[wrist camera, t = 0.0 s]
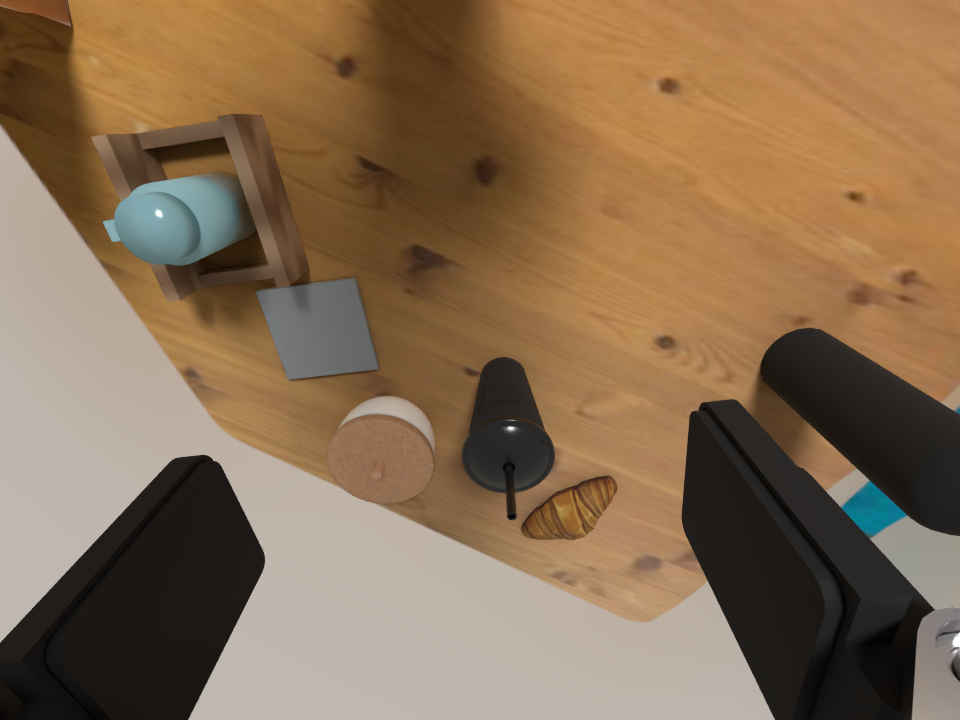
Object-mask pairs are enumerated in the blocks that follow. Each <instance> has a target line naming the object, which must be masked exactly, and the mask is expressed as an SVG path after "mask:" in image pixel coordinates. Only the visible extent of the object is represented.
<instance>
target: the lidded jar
mask: <svg viewBox="0 0 960 720" xmlns="http://www.w3.org/2000/svg"><path fill="white" fill-rule="evenodd" d="M326 456H327V464H328V468H329V471H330V473H331V475H332V476H333V478H334V479H335V481H336V482H337V483H338V484H339V485H340V487H342V488H343V489H344V490H345V491H347V492H348V493H350V494H351V495H353V496H355V497H357V498H359V499H362V500H365V501H368V502H373V503H380V504H392V503H399V502H402V501H406V500H408V499H411V498H413V497H415V496H416V495H418V494H419V493H420V492H422V491H423V490H424V489H425V488H426V486H427V485H428V484H429V482H430V480H431V478H432V475H433V472H434V464H435V458H434V457H435V438H434V432H433V429H432V426H431V424H430V422H429V420H428V418H427V416H426V415H425V414H424V412H423V411H422V410H421V409H420V408H419V407H417V406H416V405H415V404H413V403H412V402H410V401H408V400H406V399H403V398H400V397H395V396H380V397H374V398H371V399H368V400H366V401H364V402H363V403H361V404H359V405H358V406H356V407H355V408H354V409H353V410H352V411H351V412H350V413H349V414H348V415H347V416H346V417H345V418H344V420H343V421H342V423H341V424H340V426H339V428H338V429H337V431H336V432H335V434H334V435H333V437H332V439H331V440H330V443H329V445H328V448H327V454H326Z"/></svg>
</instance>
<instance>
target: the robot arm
mask: <svg viewBox="0 0 960 720" xmlns="http://www.w3.org/2000/svg"><path fill="white" fill-rule="evenodd" d="M682 524H683V528H684V531H685V534H686V537H687V539H688V541H689V543H690V545H691V547H692V549H693V551H694V553H695V555H696V557H697V559H698V561H699V563H700V566H701V568H702V570H703V572H704V574H705V576H706V578H707V580H708V582H709V584H710V586H711V588H712V590H713V592H714V595H715V596H716V599H717V601H718V603H719V605H720V607H721V609H722V611H723V613H724V615H725V617H726V619H727V621H728V624H729V626H730V628H731V630H732V632H733V634H734V636H735V638H736V640H737V642H738V644H739V646H740V648H741V650H742V652H743V655H744V657H745V659H746V661H747V663H748V665H749V667H750V669H751V671H752V673H753V675H754V677H755V679H756V681H757V683H758V685H759V688H760V690H761V692H762V694H763V696H764V698H765V700H766V702H767V704H768V706H769V708H770V711H771V713H772V715H773V717H774V718H775V720H960V608H953V607H952V608H946V609H940V610H935V609H933V607H932V606H931V605H930V604H929V603H928V602H927V601H926V600H925V599H924V598H923V596H922V595H921V594H920V593H919V592H918V591H917V590H916V589H915V588H914V587H913V586H912V585H911V583H910V582H909V581H908V580H907V579H906V578H905V577H904V576H903V575H902V574H901V573H900V571H899V570H898V569H897V568H896V567H895V566H894V565H893V564H892V563H891V562H890V561H889V559H888V558H887V557H886V556H885V555H884V554H883V553H882V552H881V551H880V550H879V549H878V548H877V547H876V545H875V544H874V543H873V542H872V541H871V540H870V539H869V538H868V537H867V536H866V535H865V533H864V532H863V531H862V530H861V529H860V528H859V527H858V526H857V525H856V524H855V523H854V521H853V520H852V519H851V518H850V517H849V516H848V515H847V514H846V513H845V512H844V511H843V510H842V508H841V507H840V506H839V505H838V504H837V503H836V502H835V501H834V500H833V499H832V498H831V497H830V496H829V494H828V493H827V492H826V491H825V490H824V489H823V488H822V487H821V486H820V485H819V483H818V482H817V481H816V480H815V479H814V478H813V477H812V476H811V475H810V474H809V473H808V472H807V471H805V470H804V469H803V468H800V467H798V466H796V464H795V463H794V462H793V461H792V460H791V459H790V458H789V457H788V456H787V455H786V453H785V452H784V451H783V450H782V449H781V448H780V447H779V446H778V445H777V443H776V442H775V441H774V440H773V439H772V438H771V437H770V436H769V435H768V434H767V432H766V431H765V430H764V429H763V428H762V427H761V426H760V425H759V424H758V422H757V421H756V420H755V419H754V418H753V417H752V416H751V415H750V414H749V413H748V411H747V410H746V409H745V408H744V407H743V406H742V405H741V404H740V403H739V402H738V401H737V400H734V399H731V400H721V401H712V402H703V403H702V404H701V405H700V407H699V411H693V412H691V414H690V419H689V432H688V444H687V456H686V469H685V481H684V493H683V506H682ZM264 564H265V556H264V552H263V550H262V548H261V546H260V544H259V542H258V540H257V538H256V536H255V533H254V531H253V529H252V527H251V525H250V523H249V521H248V519H247V517H246V515H245V513H244V511H243V509H242V507H241V505H240V503H239V501H238V499H237V497H236V495H235V493H234V491H233V489H232V487H231V485H230V483H229V481H228V479H227V477H226V475H225V473H224V471H223V469H222V467H221V465H220V464H219V463H218V462H215V461H213V459H212V458H210V457H209V456H207V455H198V456H188V457H180V458H175V459H174V460H172V461H171V462H169V464H168V465H167V466H166V467H165V468H164V469H163V470H162V471H161V472H160V473H159V474H158V475H157V477H155V478H154V480H153V481H152V482H151V483H150V484H149V485H148V486H147V487H146V488H145V489H144V490H143V491H142V492H141V493H140V494H139V496H138V497H137V498H136V499H135V500H134V501H133V502H132V503H131V504H130V505H129V506H128V507H127V508H126V509H125V510H124V512H123V513H122V514H121V515H120V516H119V517H118V518H117V519H116V520H115V521H114V522H113V523H112V524H111V525H110V526H109V527H108V529H107V530H106V531H105V532H104V533H103V534H102V535H101V536H100V537H99V538H98V539H97V540H96V541H95V542H94V543H93V544H92V546H91V547H90V548H89V549H88V550H87V551H86V552H85V553H84V554H83V555H82V556H81V557H80V558H79V559H78V560H77V562H76V563H75V564H74V565H73V566H72V567H71V568H70V569H69V570H68V571H67V572H66V573H65V574H64V575H63V576H62V578H61V579H60V580H59V581H58V582H57V583H56V584H55V585H54V586H53V587H52V588H51V589H50V590H49V592H48V593H47V594H46V595H45V596H44V597H43V598H42V599H41V600H40V601H39V602H38V603H37V604H36V605H35V606H34V607H33V608H32V610H31V611H30V612H29V613H28V614H27V615H26V616H25V617H24V618H23V619H22V620H21V621H20V622H19V623H18V624H17V626H16V627H15V628H14V629H13V630H12V631H11V632H10V633H9V634H8V635H7V636H6V637H5V638H4V639H3V640H2V641H1V643H0V720H188V719H189V717H190V715H191V713H192V711H193V709H194V707H195V705H196V703H197V701H198V699H199V697H200V695H201V693H202V691H203V689H204V686H205V685H206V683H207V681H208V679H209V677H210V675H211V673H212V671H213V669H214V667H215V665H216V663H217V661H218V659H219V657H220V655H221V653H222V651H223V649H224V647H225V645H226V643H227V641H228V639H229V637H230V635H231V633H232V631H233V629H234V627H235V625H236V623H237V621H238V619H239V617H240V615H241V613H242V611H243V609H244V607H245V605H246V603H247V601H248V599H249V597H250V595H251V593H252V591H253V589H254V588H255V585H256V584H257V582H258V580H259V578H260V576H261V573H262V571H263V569H264Z"/></svg>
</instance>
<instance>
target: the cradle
mask: <svg viewBox="0 0 960 720" xmlns="http://www.w3.org/2000/svg"><path fill="white" fill-rule="evenodd" d="M218 119H219V120H218V121H212V122H206V123H200V124H193V125H187V126H181V127H175V128H169V129H162V130H156V131H150V132H144V133H137V134H106V135H99V136H93V137H91V138H92V140H93V143H94V145H95V147H96V149H97V151H98V153H99V155H100V158H101V160H102V162H103V164H104V166H105V168H106V170H107V173H108V175H109V177H110V179H111V181H112V183H113V186H114V188H115V190H116V192H117V194H118V196H119V198H120V201H122V200H124V199H126V198H128V197H129V196H130V194H131V193H132V192H133V191H134V190H135V189H136V188H138V187H139V186H141V185H144V184H148V183H153V182H159V181H165V180H167V177H166V175H165V173H164V170H163V168H162V165H161V163H160V161H159V158H158V156H157V153H156V151H155V148H161V147H167V146H174V145H180V144H186V143H193V142H199V141H206V140H212V139H218V138H225V139H226V142H227V145H228V148H229V151H230V154H231V157H232V160H233V162H234V165H235V168H236V171H237V174H238V177H239V180H240V183H241V185H242V188H243V191H244V194H245V197H246V200H247V203H248V206H249V208H250V211H251V214H252V217H253V220H254V223H255V226H256V229H257V231H258V234H259V237H260V240H261V243H262V246H263V249H264V252H265V254H266V257H267V260H268V263H261V264H254V265H247V266H239V267H232V268H224V269H217V270H210V271H205V269H204V267H203V265H202V262H201V260H198V261H195V262H193V263H191V264H187V265H171V264H165V265H156V264H151V263H150V265H151V267H152V269H153V271H154V274H155V276H156V278H157V280H158V282H159V284H160V287H161V289H162V291H163V293H164V295H165V297H166V299H167V302H169V301H177V300H181V299H183V298H185V297H186V296H188V295H190V294H192V293H193V292H195V291H197V290H199V289H200V288H203V287H211V286H218V285H226V284H233V283H241V282H248V281H256V280H263V279H271V278H274V280H275V283H276V286H277V287H283V286H290V285H291V284H293V283H294V282H295V281H296V280H298V279H299V278H300V277H301V276H302V275H304V274H305V273H306V272H307V271H308V270H310V269H309V266H308V263H307V260H306V256H305V253H304V250H303V247H302V244H301V240H300V237H299V234H298V231H297V227H296V224H295V221H294V218H293V214H292V211H291V208H290V205H289V201H288V198H287V195H286V192H285V189H284V185H283V182H282V179H281V176H280V172H279V169H278V166H277V163H276V159H275V156H274V153H273V150H272V146H271V143H270V140H269V137H268V133H267V130H266V127H265V124H264V121H263V117H262V115H246V114H230V115H224V116H218Z"/></svg>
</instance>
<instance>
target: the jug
mask: <svg viewBox="0 0 960 720" xmlns="http://www.w3.org/2000/svg"><path fill="white" fill-rule="evenodd" d="M103 224H104V226H105V228H106V230H107V232H108V234H109V236H110V238H111V240H112V242H116V241H122V243H123V244H124V246H125V247H126V248H127V249H128V250H129V251H130V252H131V253H132V254H134V255H135V256H136V257H138V258H139V259H141V260H143V261H146V262H148V263H151V264H156V265H165V264H171V265H187V264H191V263H193V262H195V261H198V260H200V259H202V258H204V257H206V256H208V255H210V254H212V253H215V252H217V251H219V250H221V249H223V248H225V247H227V246H229V245H232V244H234V243H236V242H238V241H240V240H242V239H244V238H246V237H248V236H250V235H251V234H253V233H254V232H255V231H256V226H255V223H254V220H253V217H252V214H251V211H250V208H249V206H248V203H247V200H246V197H245V194H244V191H243V188H242V185H241V183H240V180H239V177H238V176H236V175H234V174H231V173H228V172H222V171H217V172H210V173H205V174H199V175H193V176H187V177H182V178H176V179H170V180H165V181H159V182H153V183H148V184H144V185H141V186H139V187H138V188H136V189H135V190H134V191H133V192H132V193H131V194H130V196H129V197H128V198H126V199H124V200H123V201H122V202H121V203H120V204H119V205H118V206H117V208H116V211H115V215H114V219H111V220H107V221H103Z"/></svg>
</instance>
